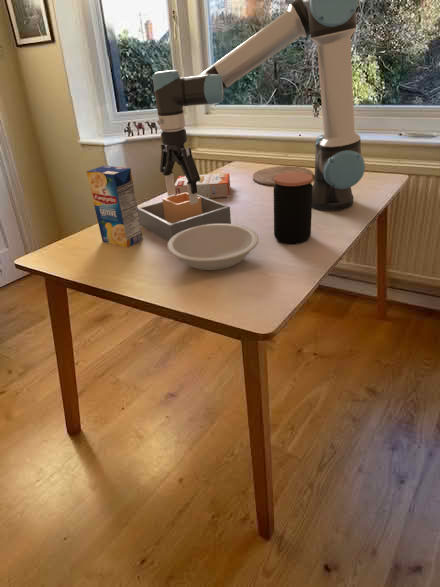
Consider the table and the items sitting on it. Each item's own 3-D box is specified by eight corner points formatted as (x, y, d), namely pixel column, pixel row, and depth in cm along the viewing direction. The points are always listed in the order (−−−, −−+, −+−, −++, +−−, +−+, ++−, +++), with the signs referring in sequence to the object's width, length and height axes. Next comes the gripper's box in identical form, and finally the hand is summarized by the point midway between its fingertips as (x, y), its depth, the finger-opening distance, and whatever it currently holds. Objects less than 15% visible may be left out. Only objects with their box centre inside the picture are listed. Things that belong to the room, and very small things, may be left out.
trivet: (244, 176, 189) (244, 171, 188) (296, 167, 195) (296, 163, 194) (267, 191, 169) (267, 186, 168) (324, 181, 174) (324, 176, 173)
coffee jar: (317, 235, 127) (320, 174, 118) (297, 248, 121) (298, 185, 111) (287, 228, 134) (288, 170, 125) (266, 240, 127) (265, 179, 118)
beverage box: (128, 247, 130) (113, 174, 119) (102, 241, 135) (86, 171, 124) (143, 239, 135) (130, 168, 123) (117, 233, 140) (103, 165, 129)
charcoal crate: (231, 224, 140) (229, 206, 137) (172, 244, 130) (170, 225, 126) (194, 208, 156) (192, 192, 153) (139, 225, 145) (136, 208, 142)
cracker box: (228, 181, 161) (173, 185, 162) (229, 197, 164) (175, 201, 165) (229, 171, 173) (177, 175, 175) (230, 186, 176) (179, 190, 178)
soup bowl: (179, 245, 129) (176, 224, 125) (260, 243, 126) (259, 221, 122) (162, 284, 108) (158, 261, 105) (258, 283, 105) (257, 259, 102)
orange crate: (203, 221, 141) (200, 197, 137) (179, 229, 137) (176, 204, 133) (188, 215, 148) (185, 192, 144) (165, 222, 143) (162, 198, 139)
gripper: (142, 128, 135) (153, 194, 145) (184, 135, 117) (193, 210, 127) (163, 123, 138) (172, 188, 149) (207, 130, 120) (214, 204, 131)
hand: (182, 199), depth 138 cm, fingers open, 13 cm apart
